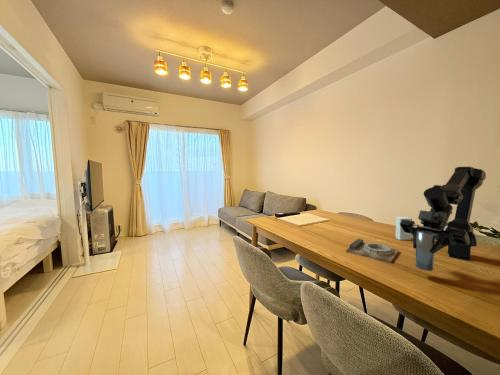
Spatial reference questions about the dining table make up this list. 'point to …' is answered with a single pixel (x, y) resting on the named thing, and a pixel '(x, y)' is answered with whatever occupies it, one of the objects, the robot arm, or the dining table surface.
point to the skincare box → (399, 231)
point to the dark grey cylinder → (424, 250)
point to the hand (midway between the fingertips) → (423, 250)
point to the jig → (373, 250)
